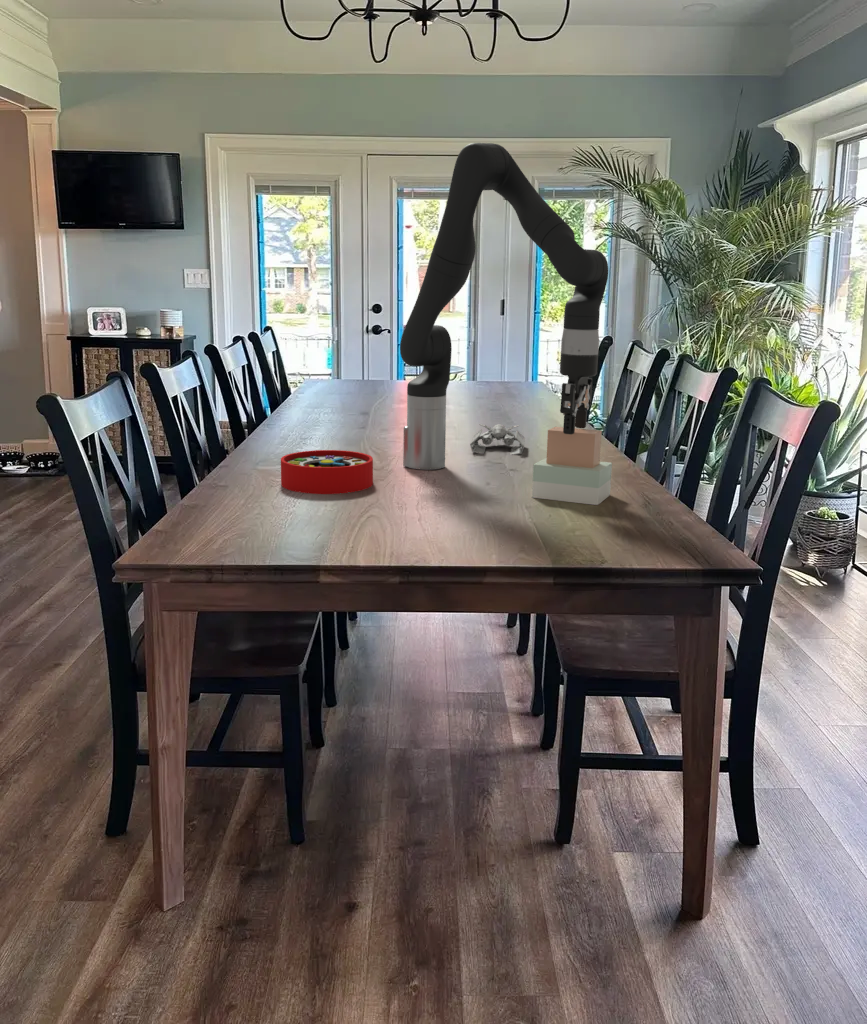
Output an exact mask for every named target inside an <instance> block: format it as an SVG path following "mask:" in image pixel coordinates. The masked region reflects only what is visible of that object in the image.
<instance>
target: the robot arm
mask: <svg viewBox="0 0 867 1024" xmlns="http://www.w3.org/2000/svg"><path fill="white" fill-rule="evenodd" d="M451 176H452V177H451V181H450V187H449V191H448V196H447V201H446V205H445V208H444V211H443V212H444V213H443V215H442V218H441V222H440V225H439V229H438V233H437V235H436V238H435V242H434V244H433V247H432V251H431V254H430V255H429V256H430V257H429V261H428V263H427V268H426V271H425V274H424V278H423V281H422V284H421V286H420V290H419V292H418V296H417V297H416V301H415V304H414V305H413V308H412V311H411V313H410V314H409V317H408V320H407V322H406V324H405V326H404V328H403V332H402V335H401V338H400V343H399V344H400V345H399V352H400V357H401V359H402V362H403V363H405V364H406V365H408V366H411V367H422V371H421V372H420V374H419V375H417V376H416V377H415V378H414V379H412V380H410V381H409V382H408V383H407V387H406V388H407V389H406V390H407V391H406V394H407V395H406V399H407V400H406V425H405V426H403V441H402V442H403V445H402V446H403V450H402V451H403V452H402V454H403V457H402V458H403V459H402V460H403V463H402V464H403V467H407V468H410V469H413V470H423V471H424V470H426V471H429V470H440V469H443V468H445V467H446V435H447V434H446V432H447V431H446V430H447V429H446V427H447V426H446V425H447V418H446V416H447V389H448V386H449V383H450V376H451V363H452V350H453V349H452V339H451V335H450V333H449V331H448V329H447V328H446V327H444V326H443V325H437V324H436V325H435V323H436V321H437V318H438V317H439V315H440V313H441V312H442V311H443V310H444V308H445V307H447V305H448V304H449V303H450V302H451V301H452V300H453V299H454V298H455V297H456V295H457V294H458V293H459V292H460V291H461V290H462V288H463V287H464V285H465V284H466V282H467V280H468V277H469V274H470V273H471V269H472V266H473V263H474V261H475V255H476V238H475V236H476V235H475V231H474V230H475V229H474V218H475V213H476V210H477V207H478V203H479V201H480V199H481V196H482V194H483V191H494V192H496V193H497V194H498V195H500V196H501V197H502V198H504V199H505V200H506V201H507V202H508V203H509V204H510V205H511V207H512V208H513V210H514V211H515V213H516V215H517V218H518V221H519V224H520V225H521V227H522V229H523V230H524V232H525V233H526V235H527V236H528V237H529V238H530V239H531V241H532V242H533V243H534V244H536V246H537V247H539V249H540V250H542V252H543V253H545V255H546V256H547V258H548V259H549V261H550V263H551V264H552V266H553V268H554V269H555V271H556V272H557V274H558V275H559V276H560V277H561V278H562V280H564V281H565V282H566V283H568V284H570V285H572V286H574V291H573V296H572V297H571V298H570V299H568V300H567V301H566V303H565V306H564V310H563V311H564V313H563V328H562V329H563V331H562V335H561V343H560V345H561V346H560V361H559V362H560V363H559V365H560V366H559V374H560V375H562V376H567V377H568V378H567V383H566V382H563V383H562V385H561V396H560V397H561V398H560V409H559V411H560V414H562V416H563V426H562V427H563V433H564V434H574V432H575V428H577V429H585V428H586V427H587V417H588V410H589V409H590V407H591V406H592V398H593V397H592V395H593V394H592V393H593V377H595V376H596V375H597V374H598V365H599V363H598V361H599V349H600V348H599V347H600V336H599V330H600V329H599V327H600V308H601V305H602V302H603V298H604V295H605V291H606V287H607V283H608V279H609V264H608V260H607V258H606V256H605V255H604V253H603V252H601V251H599V250H595V249H586V248H584V247H582V246H581V245H580V244H579V243H578V242H577V241H576V240H575V239H576V235H575V232H574V229H572V227H571V226H570V225H569V224H568V223H567V222H566V220H564V219H563V218H562V217H561V216H560V215H559V214H558V213H557V212H556V211H555V210H554V209H553V208H552V207H551V206H550V205H549V204H548V202H546V201H545V200H544V199H543V197H542V196H541V195H540V194H539V192H538V191H537V190H536V188H534V186H533V184H532V183H531V182H530V181H529V179H528V178H527V176H526V175H525V174H524V173H523V171H522V169H521V168H520V167H519V165H518V164H517V163H516V161H515V159H514V158H513V157H512V155H511V154H510V153H509V151H508V150H507V149H506V148H505V147H504V146H502V145H500V144H498V143H494V142H493V143H492V142H490V143H487V142H471V143H468V144H467V145H465V146H464V147H463V148H462V149H461V150H460V152H459V153H458V155H457V157H456V160H455V163H454V168H453V171H452V175H451Z"/></svg>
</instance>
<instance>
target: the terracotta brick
mask: <svg viewBox="0 0 867 1024" xmlns="http://www.w3.org/2000/svg"><path fill="white" fill-rule="evenodd" d="M546 440H547V441H546V444H547V445H546V457H547V460H546V463H548V464H558V465H568V466H578V467H587V468H594V467H596V466H597V465H599V464H600V462H601V451H602V450H601V447H602V446H601V445H602V430H597V429H585V428H576V427H575V432H574V434H564V433H563V426H554V427H552V428H549V429H547V439H546Z"/></svg>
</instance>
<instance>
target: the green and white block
mask: <svg viewBox="0 0 867 1024" xmlns="http://www.w3.org/2000/svg"><path fill="white" fill-rule="evenodd" d="M546 460H547V456H546V457H544V458H543V459H541V460H539V461H537V462H536V463H533V467H532V487H531V489H532V491H531V492H532V493H531V498H532V499H533V498H535V499H543V500H551V501H557V502H558V501H559V502H569V503H576V504H577V503H578V504H585V505H593V506H594V505H595V506H599V505H600V504H601V503H602V502H603V501H605V500H606V499H607V498H608V497H610V496H611V485H612V470H613V462H609V461H608V462H607V461H600V464H599V465H597V466H596V467H594V468H587V467H578V466H568V465H558V464H548V463H546Z"/></svg>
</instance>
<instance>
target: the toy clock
mask: <svg viewBox="0 0 867 1024" xmlns="http://www.w3.org/2000/svg"><path fill="white" fill-rule="evenodd" d="M373 458H374V457H373V456H371V455H369V454H367V453H364V452H359V451H354V450H353V451H352V450H341V449H339V450H337V449H318V450H317V449H315V450H305V451H298V452H297V451H296V452H292V453H288V454H285V455H283V456H281V458H280V484H281V486H282V488H283V489H285V490H288V491H292V492H295V493H302V494H310V495H311V494H313V495H314V494H315V495H338V494H339V495H340V493H341V494H349V493H348V492H350V493H356V492H359V491H364V489H365V490H367V489H370V488H371V487H373V484H374V459H373ZM369 487H370V488H369ZM355 491H356V492H355Z"/></svg>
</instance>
